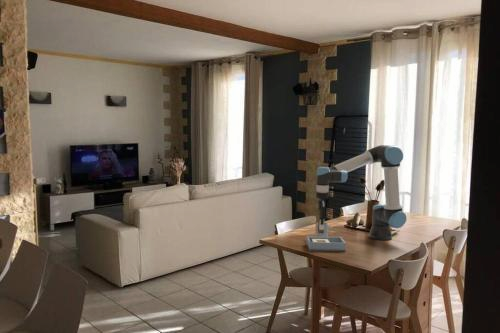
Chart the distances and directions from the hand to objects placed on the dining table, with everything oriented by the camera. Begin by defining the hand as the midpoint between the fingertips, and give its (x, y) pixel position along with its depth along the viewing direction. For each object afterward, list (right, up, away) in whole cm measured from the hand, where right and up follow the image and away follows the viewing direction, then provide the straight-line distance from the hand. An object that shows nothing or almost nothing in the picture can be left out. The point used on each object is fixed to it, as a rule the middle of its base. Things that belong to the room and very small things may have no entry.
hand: (320, 228), depth 251 cm
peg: (0, -3, 0) cm, 3 cm away
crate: (+3, -12, +1) cm, 13 cm away
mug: (+5, -11, +21) cm, 24 cm away
